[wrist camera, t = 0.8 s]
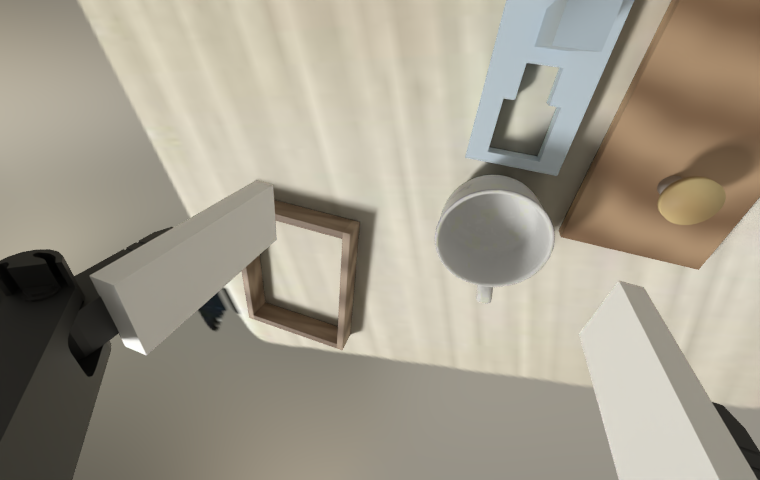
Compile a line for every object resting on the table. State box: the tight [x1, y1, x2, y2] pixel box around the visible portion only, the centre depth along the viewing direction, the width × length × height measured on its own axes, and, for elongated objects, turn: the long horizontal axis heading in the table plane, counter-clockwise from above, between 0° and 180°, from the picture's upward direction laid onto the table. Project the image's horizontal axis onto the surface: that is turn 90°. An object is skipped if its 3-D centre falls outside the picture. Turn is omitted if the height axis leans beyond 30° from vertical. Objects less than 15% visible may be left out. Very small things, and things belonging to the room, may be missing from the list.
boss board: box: [559, 0, 760, 270], centre depth 24 cm, size 28×13×5 cm, turn 173°
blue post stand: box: [465, 0, 634, 176], centre depth 22 cm, size 24×9×12 cm, turn 173°
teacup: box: [435, 175, 555, 304], centre depth 34 cm, size 14×11×8 cm
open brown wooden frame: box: [242, 200, 360, 350], centre depth 50 cm, size 23×18×4 cm
